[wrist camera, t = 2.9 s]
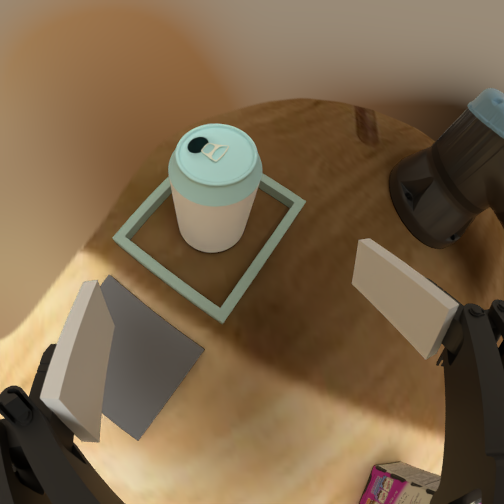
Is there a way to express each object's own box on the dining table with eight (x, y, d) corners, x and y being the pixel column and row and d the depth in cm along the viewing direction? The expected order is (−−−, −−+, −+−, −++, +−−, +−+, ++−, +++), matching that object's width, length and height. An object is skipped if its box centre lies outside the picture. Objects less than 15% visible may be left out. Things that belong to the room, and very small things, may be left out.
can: (181, 258, 27) (165, 197, 16) (177, 198, 29) (167, 120, 18) (248, 251, 29) (275, 189, 17) (239, 193, 31) (257, 116, 20)
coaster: (111, 276, 25) (109, 274, 25) (204, 349, 25) (204, 349, 24) (53, 362, 21) (49, 362, 20) (140, 438, 20) (138, 440, 20)
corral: (206, 148, 32) (206, 140, 31) (301, 207, 31) (306, 201, 30) (116, 243, 27) (112, 238, 25) (222, 324, 26) (223, 323, 24)
